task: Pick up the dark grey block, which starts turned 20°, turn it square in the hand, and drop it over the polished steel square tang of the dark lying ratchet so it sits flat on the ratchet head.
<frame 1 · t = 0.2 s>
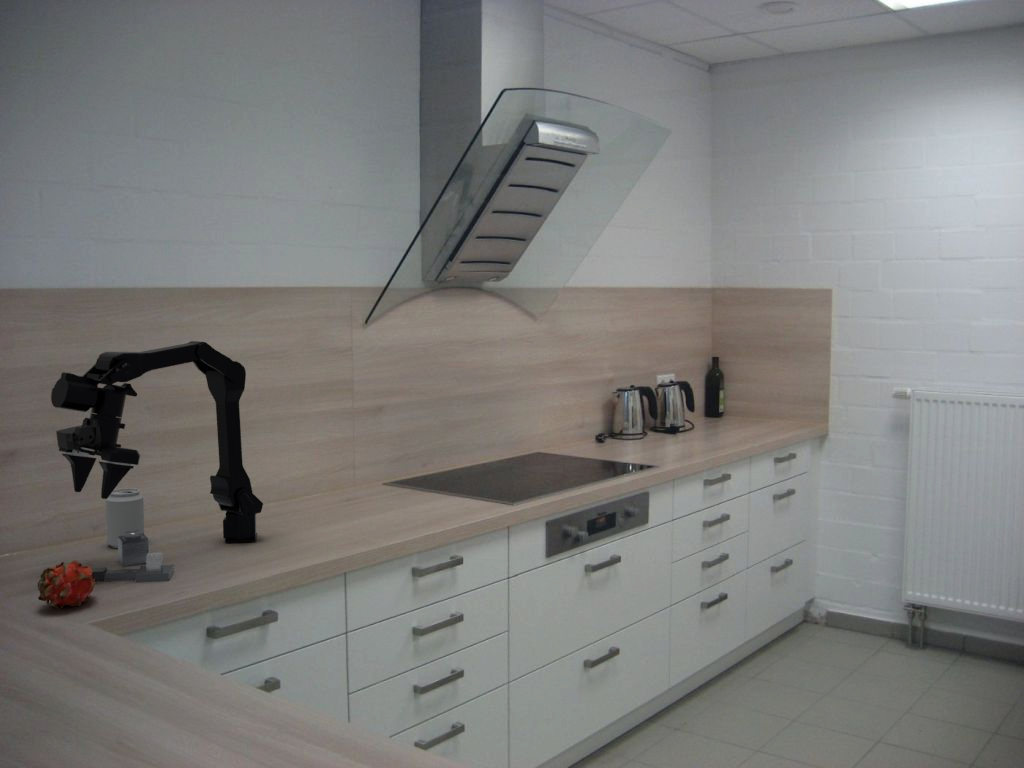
hand: (90, 495, 194), 15 cm above the countertop, tool pointing down, fingers open, 9 cm apart
dragon fruit: (69, 605, 176), on the countertop
dark grey block: (133, 561, 204), on the countertop
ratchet: (154, 577, 193), on the countertop
can: (126, 545, 217), on the countertop
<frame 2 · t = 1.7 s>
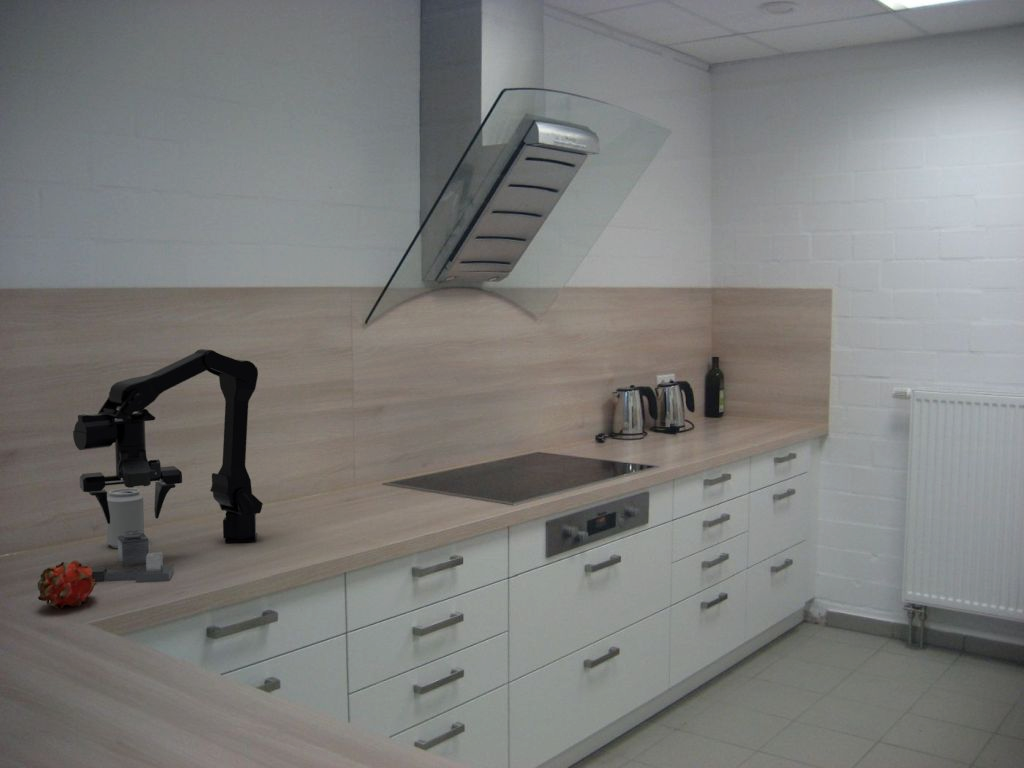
hand: (132, 520, 203), 8 cm above the countertop, tool pointing down, fingers open, 9 cm apart
nothing on the countertop moved.
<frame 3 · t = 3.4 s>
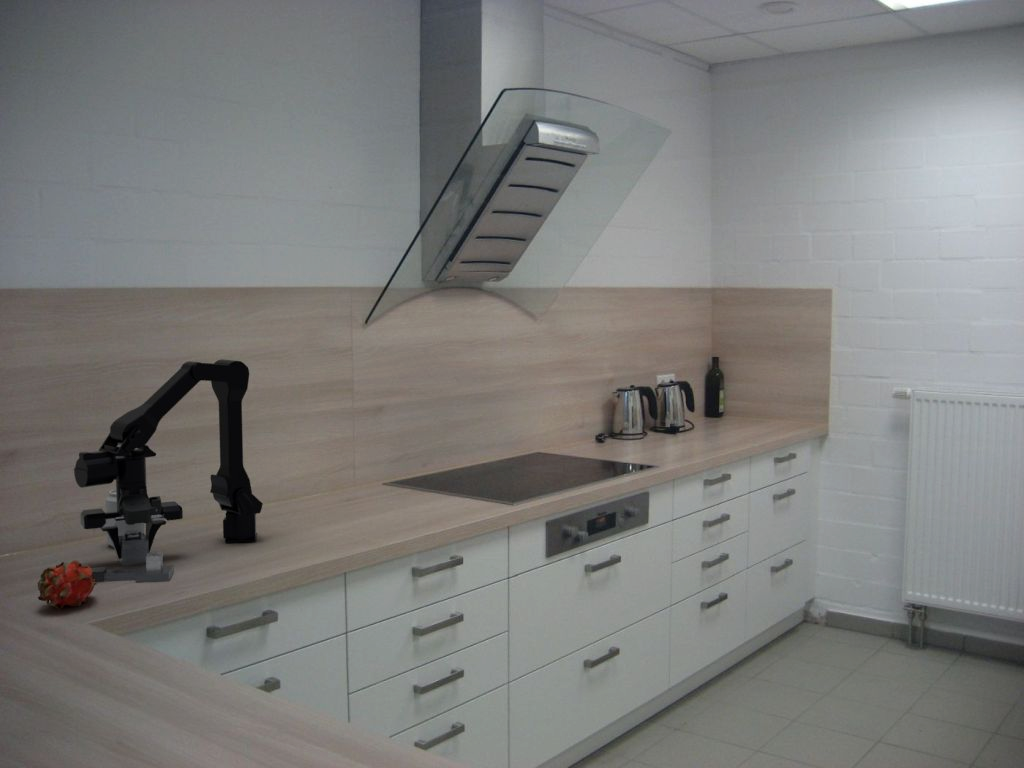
hand: (133, 556, 203), 1 cm above the countertop, tool pointing down, fingers closed on dark grey block, 5 cm apart
dark grey block: (133, 561, 204), on the countertop, touching gripper
everything else where it was.
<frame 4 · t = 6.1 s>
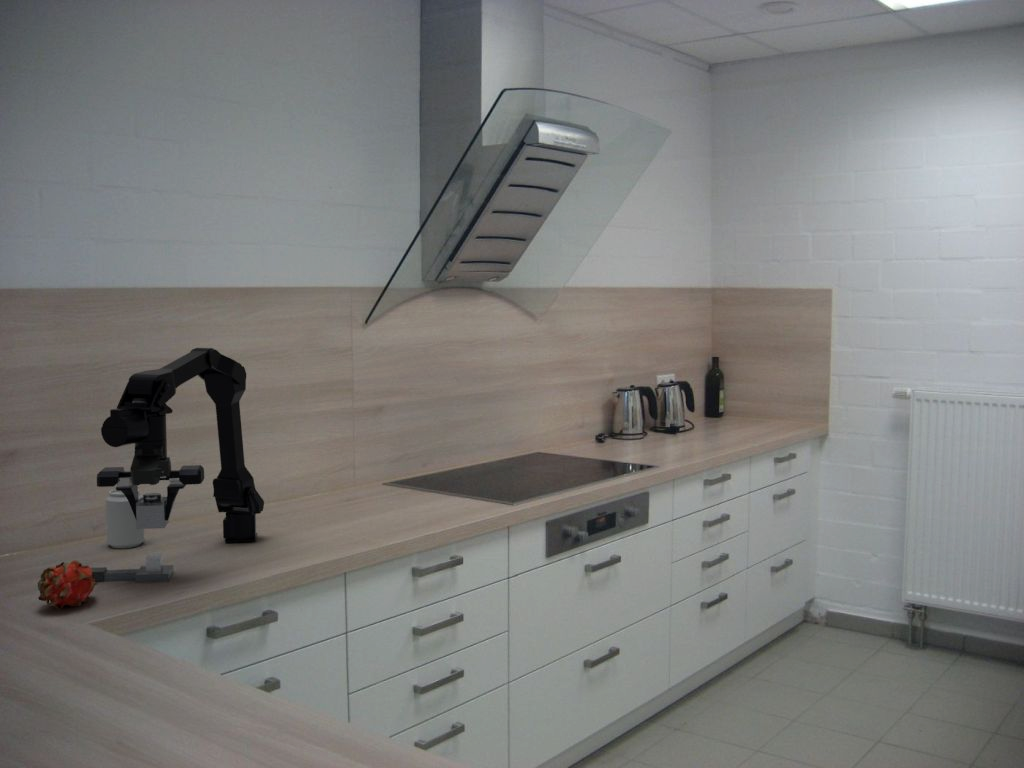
hand: (152, 520, 192), 11 cm above the countertop, tool pointing down, fingers closed on dark grey block, 5 cm apart
dark grey block: (152, 525, 192), point 10 cm above the countertop, touching gripper
everything else where it was.
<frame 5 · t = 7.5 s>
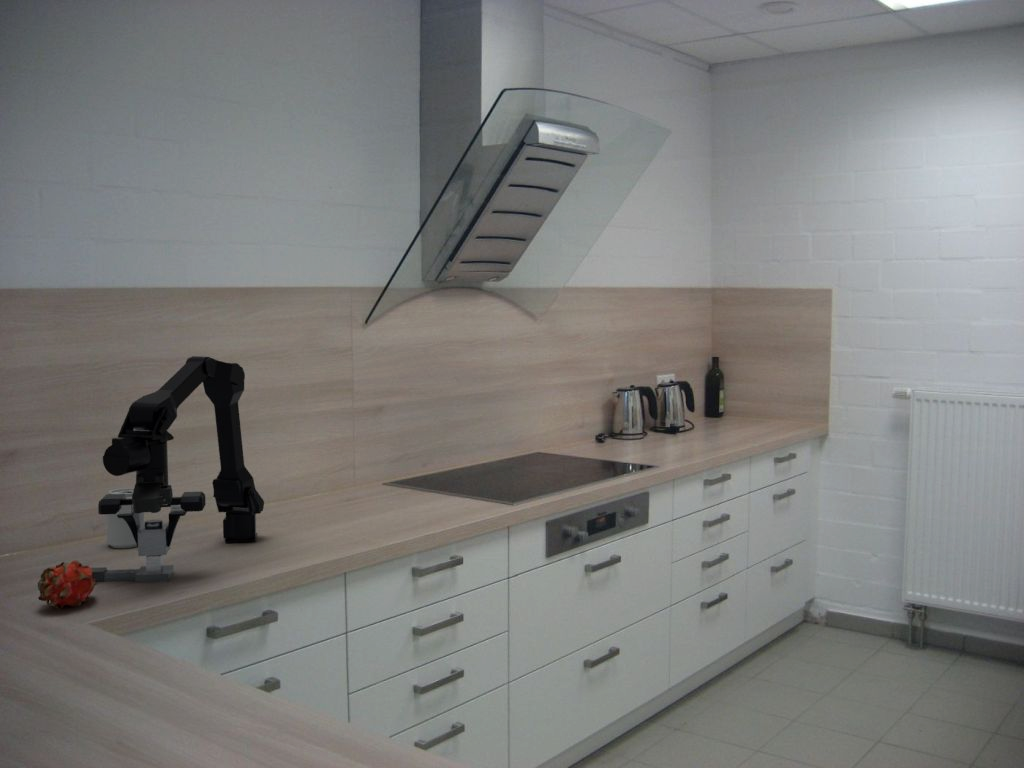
hand: (154, 547, 192), 6 cm above the countertop, tool pointing down, fingers closed on dark grey block, 5 cm apart
dark grey block: (154, 552, 193), point 5 cm above the countertop, touching gripper
everything else where it was.
when the fingers open (3 cm above the countertop, at t = 8.9 s): dark grey block drops 1 cm, point 1 cm above the countertop.
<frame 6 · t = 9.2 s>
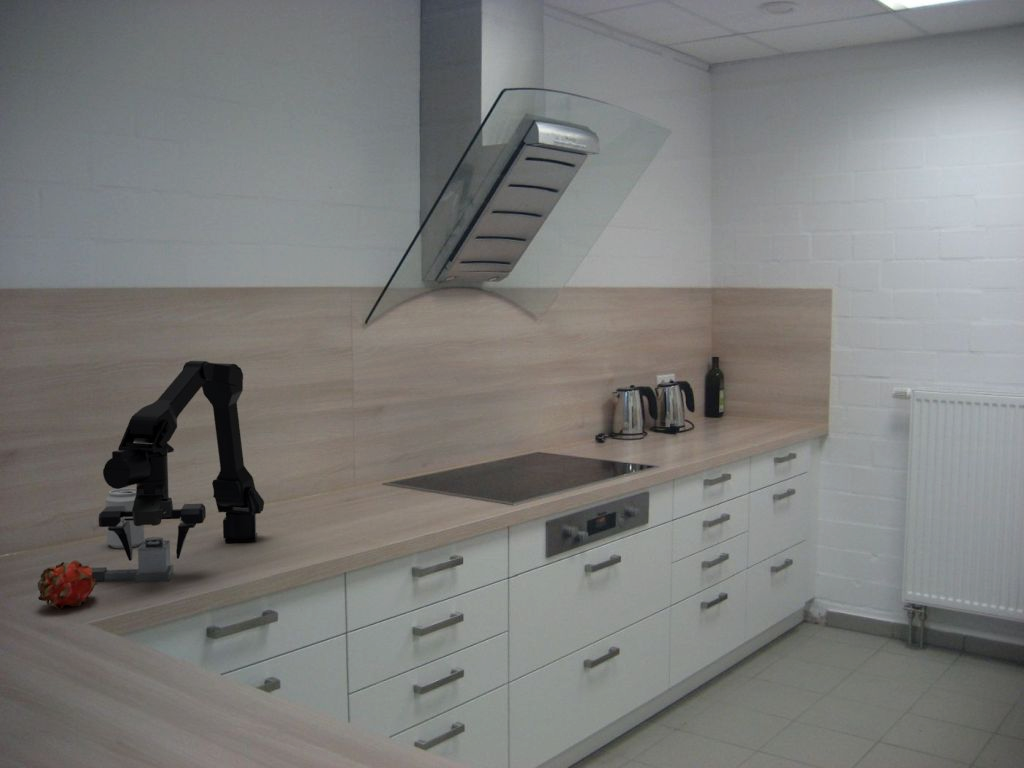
hand: (154, 559, 193), 3 cm above the countertop, tool pointing down, fingers open, 8 cm apart
dark grey block: (154, 569, 193), point 1 cm above the countertop
everything else where it was.
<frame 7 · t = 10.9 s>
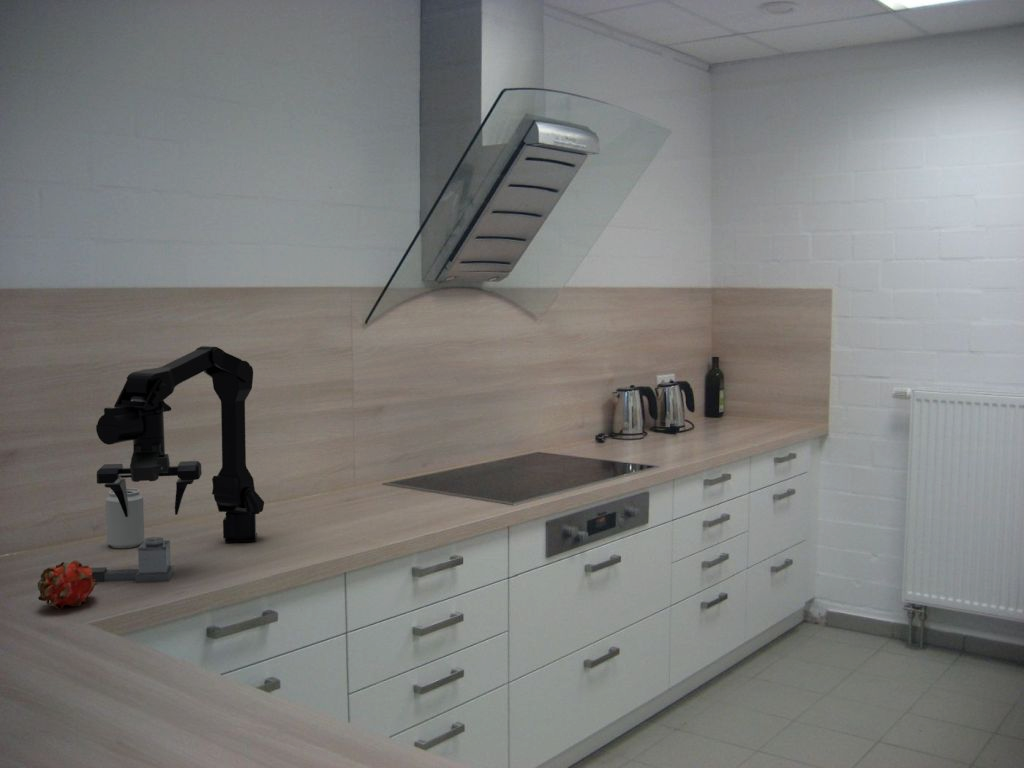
hand: (151, 515, 197), 11 cm above the countertop, tool pointing down, fingers open, 9 cm apart
dark grey block: (155, 569, 193), point 1 cm above the countertop, touching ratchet
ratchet: (154, 577, 193), on the countertop, touching dark grey block
everything else where it was.
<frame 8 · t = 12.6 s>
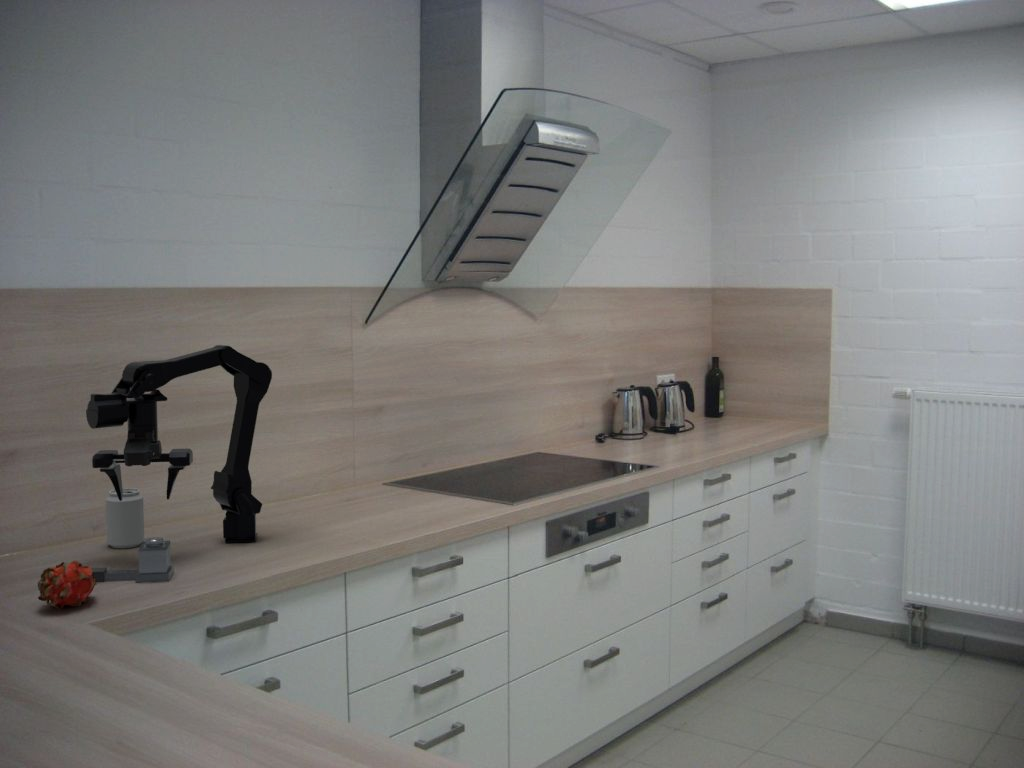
hand: (144, 499, 206), 12 cm above the countertop, tool pointing down, fingers open, 9 cm apart
nothing on the countertop moved.
at the end: dark grey block 0.1 cm from the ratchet (horizontally); dark grey block point 1.4 cm above the countertop; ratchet moved 0.2 cm from its start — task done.
